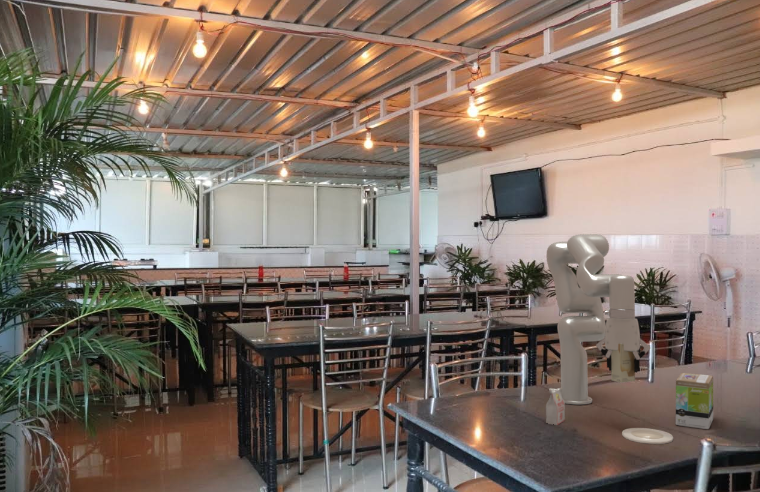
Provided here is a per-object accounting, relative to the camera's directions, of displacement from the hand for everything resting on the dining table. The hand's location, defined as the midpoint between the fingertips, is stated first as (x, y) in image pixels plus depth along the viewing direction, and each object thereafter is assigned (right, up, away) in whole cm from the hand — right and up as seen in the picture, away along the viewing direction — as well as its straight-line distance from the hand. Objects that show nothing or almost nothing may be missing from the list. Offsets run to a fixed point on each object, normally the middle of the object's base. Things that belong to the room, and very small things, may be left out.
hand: (623, 370), depth 197 cm
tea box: (+25, -18, +5) cm, 32 cm away
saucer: (+3, -18, -10) cm, 21 cm away
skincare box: (0, -4, 0) cm, 4 cm away
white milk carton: (-19, -19, +7) cm, 28 cm away
